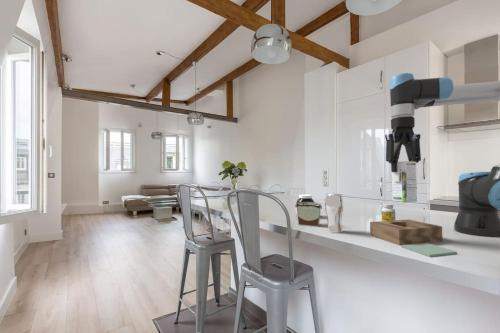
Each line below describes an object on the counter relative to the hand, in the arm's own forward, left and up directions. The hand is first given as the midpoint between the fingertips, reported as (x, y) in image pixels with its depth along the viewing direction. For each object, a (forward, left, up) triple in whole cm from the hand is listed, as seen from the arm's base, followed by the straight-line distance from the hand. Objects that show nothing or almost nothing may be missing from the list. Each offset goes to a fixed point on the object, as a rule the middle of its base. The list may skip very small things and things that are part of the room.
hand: (404, 181), depth 98 cm
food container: (+21, -32, -21) cm, 44 cm away
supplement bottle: (-10, -19, -21) cm, 30 cm away
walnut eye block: (0, 0, -21) cm, 21 cm away
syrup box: (0, 0, -8) cm, 8 cm away
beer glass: (+18, -17, -21) cm, 33 cm away
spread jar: (+13, -52, -21) cm, 58 cm away
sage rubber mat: (+5, +14, -21) cm, 25 cm away
